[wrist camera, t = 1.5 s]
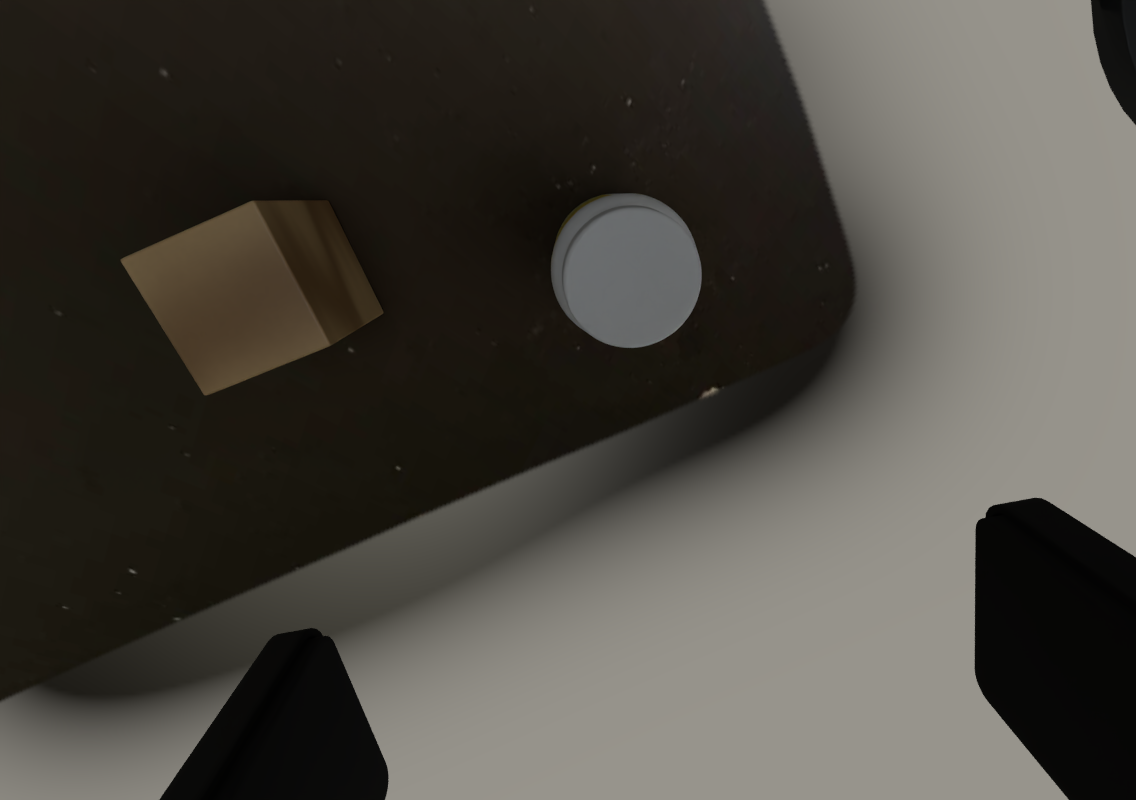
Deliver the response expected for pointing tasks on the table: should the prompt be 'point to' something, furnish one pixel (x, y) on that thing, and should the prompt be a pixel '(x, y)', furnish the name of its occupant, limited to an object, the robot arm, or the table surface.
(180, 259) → the oak block
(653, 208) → the supplement bottle
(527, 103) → the table surface
